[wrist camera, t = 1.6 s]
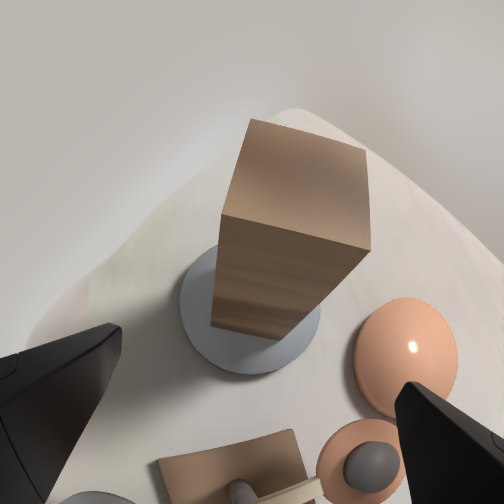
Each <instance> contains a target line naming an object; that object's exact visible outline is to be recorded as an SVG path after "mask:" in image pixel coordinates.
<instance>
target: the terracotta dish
mask: <svg viewBox="0 0 504 504" xmlns="http://www.w3.org/2000/svg"><path fill="white" fill-rule="evenodd" d="M457 368H458V354H457V347H456V342H455V339H454V336H453V333H452V331H451V329H450V327H449V325H448V323H447V322H446V320H445V319H444V317H443V316H442V315H441V314H440V313H439V312H438V311H437V310H436V309H435V308H433V307H432V306H431V305H429V304H427V303H425V302H424V301H421V300H418V299H414V298H399V299H395V300H392V301H390V302H388V303H386V304H385V305H383V306H382V307H380V308H379V309H377V310H376V311H375V312H373V313H372V314H371V315H370V316H369V317H368V318H367V320H366V321H365V322H364V324H363V326H362V327H361V329H360V331H359V333H358V336H357V339H356V343H355V348H354V370H355V376H356V379H357V383H358V385H359V388H360V390H361V392H362V394H363V395H364V397H365V398H366V400H367V401H368V402H369V404H370V405H371V406H372V407H373V408H374V409H376V410H377V411H378V412H380V413H382V414H383V415H385V416H388V417H391V418H395V419H396V415H395V409H394V403H395V400H396V398H397V396H398V394H399V393H400V391H401V389H402V388H403V386H404V384H405V383H406V382H408V381H414V382H419V383H420V384H422V385H423V386H425V387H426V388H428V389H429V390H431V391H432V392H434V393H435V394H437V395H438V396H440V397H441V398H443V399H444V400H446V398H447V397H448V395H449V394H450V392H451V390H452V388H453V385H454V382H455V379H456V374H457Z"/></svg>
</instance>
